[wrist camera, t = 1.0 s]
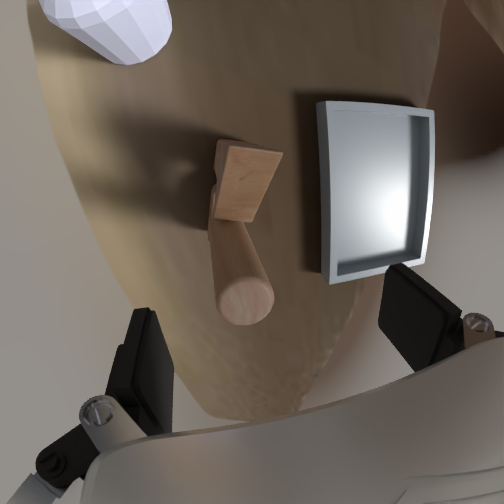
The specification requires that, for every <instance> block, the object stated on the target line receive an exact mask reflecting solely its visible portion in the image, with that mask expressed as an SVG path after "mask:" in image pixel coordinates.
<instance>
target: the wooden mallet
mask: <svg viewBox="0 0 504 504" xmlns="http://www.w3.org/2000/svg"><path fill="white" fill-rule="evenodd" d="M282 155H283V152H281V151H278V150H274V149H271V148H267V147H264V146H259V145H257V144H253V143H249V142H243V141H235V140H225V139H219V140H218V141H217V146H216V154H215V162H214V170H215V173H216V177H217V183H216V184H215V185H213V187H212V190H211V199H210V209H209V220H208V240H209V242H210V246H211V258H212V269H213V280H214V290H215V300H216V308H217V310H218V312H219V314H220V315H221V316H222V317H223V318H224V319H225V320H227V321H228V322H230V323H233V324H236V325H251V324H254V323H256V322H259V321H260V320H262V319H263V318H264V317H266V315H267V314H268V313H269V312H270V310H271V308H272V305H273V302H274V293H273V290H272V287H271V285H270V283H269V280H268V278H267V276H266V273H265V271H264V269H263V267H262V264H261V262H260V260H259V257H258V255H257V253H256V250H255V248H254V246H253V244H252V241H251V239H250V237H249V234H248V232H247V230H246V228H245V225H244V222H252V220H253V218H254V216H255V214H256V212H257V209H258V207H259V205H260V203H261V201H262V198H263V196H264V194H265V192H266V190H267V188H268V185H269V183H270V181H271V179H272V177H273V175H274V173H275V170H276V168H277V166H278V164H279V162H280V160H281V158H282Z"/></svg>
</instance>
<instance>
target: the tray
mask: <svg viewBox="0 0 504 504" xmlns="http://www.w3.org/2000/svg"><path fill="white" fill-rule="evenodd" d="M316 115H317V129H318V144H319V163H320V188H321V274H322V276H323V277H324V278H325V279H326V281H327V282H328V283H329V285H330V284H334V283H339V282H344V281H349V280H354V279H358V278H363V277H368V276H372V275H376V274H381V273H385V272H386V270H387V269H388V267H389V266H390V265H393V264H397V263H403V264H405V265H406V266H407V267H411V266H415V265H419V264H424V262H425V256H426V250H427V243H428V236H429V227H430V219H431V209H432V199H433V185H434V184H433V183H434V161H435V126H434V111H433V110H427V109H421V108H414V107H406V106H398V105H388V104H377V103H364V102H346V101H322V102H317V103H316Z"/></svg>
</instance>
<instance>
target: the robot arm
mask: <svg viewBox="0 0 504 504" xmlns="http://www.w3.org/2000/svg"><path fill="white" fill-rule="evenodd" d="M461 313H462V310H460V309H459V308H458V307H457V306H456V305H455V304H453V303H452V302H451V301H450V300H449V299H447V298H446V297H445V296H444V295H443V294H441V293H440V292H439V291H438V290H437V289H435V288H434V287H433V286H431V285H430V284H429V283H428V282H426V281H425V280H424V279H423V278H422V277H420V276H419V275H418V274H416V273H415V272H414V271H413V270H411V269H410V268H409V267H407V266H406V265H405V264H403V263H397V264H393V265H390V266H389V267H388V269H387V270H386V272H385V278H384V286H383V293H382V300H381V306H380V312H379V318H378V325H379V328H380V329H381V330H382V332H383V333H384V334H385V335H386V336H387V338H388V339H389V340H390V341H391V343H392V344H393V345H394V346H395V348H396V349H397V350H398V351H399V353H400V354H401V355H402V356H403V358H404V359H405V360H406V361H407V363H408V364H409V365H410V367H411V368H412V369H413V370H414V372H415V373H413V374H410V375H408V376H406V377H403V378H401V379H398V380H396V381H393V382H390V383H388V384H385V385H383V386H380V387H377V388H374V389H372V390H369V391H366V392H363V393H360V394H357V395H354V396H351V397H348V398H345V399H342V400H338V401H335V402H332V403H328V404H325V405H321V406H317V407H314V408H310V409H306V410H302V411H298V412H294V413H290V414H286V415H281V416H277V417H272V418H267V419H262V420H257V421H251V422H245V423H239V424H234V425H227V426H221V427H214V428H206V429H199V430H189V431H182V432H174V433H172V407H173V380H174V365H173V361H172V358H171V356H170V353H169V350H168V347H167V345H166V342H165V339H164V336H163V333H162V330H161V327H160V324H159V321H158V318H157V315H156V312H155V311H154V310H153V311H151V310H150V309H149V308H148V307H147V308H139V309H134V311H133V314H132V317H131V320H130V324H129V327H128V330H127V334H126V337H125V341H124V344H120V345H119V346H118V348H117V351H116V355H115V358H114V362H113V365H112V369H111V373H110V376H109V380H108V384H107V388H106V392H105V395H99V396H95V397H92V398H90V399H89V400H87V401H86V402H85V403H84V404H83V405H82V407H81V409H80V412H79V420H80V422H81V424H79V425H78V426H77V427H75V428H74V429H72V430H71V431H70V432H68V433H66V434H65V435H64V436H62V437H61V438H59V439H58V440H56V441H55V442H53V443H52V444H50V445H49V446H48V447H46V448H45V449H43V450H42V451H41V452H40V453H39V455H38V457H37V459H36V470H37V472H36V473H35V474H34V475H33V474H32V473H30V475H29V476H28V477H27V478H26V480H25V481H24V482H23V483H22V484H21V486H20V487H19V488H18V489H17V491H16V492H15V493H14V495H13V496H12V497H11V498H10V499H9V501H8V502H7V504H504V332H500V331H494V327H493V324H492V322H491V321H490V319H489V318H487V317H486V316H484V315H482V314H479V313H469V314H467V315H465V316H464V318H463V319H461V318H460V316H461Z"/></svg>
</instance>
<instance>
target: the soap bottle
mask: <svg viewBox="0 0 504 504" xmlns="http://www.w3.org/2000/svg"><path fill="white" fill-rule="evenodd" d="M39 2H40V5H41V7H42V10H43V12H44V14H45V15H46V17H47V19H48V20H49V22H51V23H53V24H54V25H56V26H58V27H59V28H61V29H62V30H64V31H66V32H67V33H69V34H70V35H72V36H73V37H75V38H76V39H78V40H80V41H81V42H83V43H84V44H86V45H87V46H89V47H90V48H92V49H93V50H95V51H96V52H98V53H99V54H100V55H102V56H103V57H105V58H106V59H108V60H110V61H111V62H113V63H115V64H122V65H131V64H135V63H140V62H143V61H145V60H147V59H148V58H150V57H152V56H154V55H156V54H157V53H158V52H159V50H160V49H161V48H162V47H163V46H164V45H165V44H166V43H167V41H168V38H169V36H170V34H171V31H172V18H171V14H170V11H169V7H168V3H167V0H39Z"/></svg>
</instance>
